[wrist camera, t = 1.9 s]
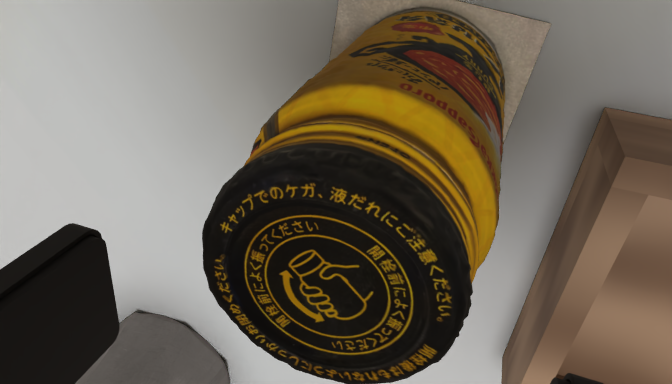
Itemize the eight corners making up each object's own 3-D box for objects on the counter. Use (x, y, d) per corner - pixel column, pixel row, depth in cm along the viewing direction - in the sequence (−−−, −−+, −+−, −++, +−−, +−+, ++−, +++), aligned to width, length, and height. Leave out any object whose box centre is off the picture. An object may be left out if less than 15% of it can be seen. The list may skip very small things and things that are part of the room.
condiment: (551, 22, 16) (599, 204, 7) (471, 223, 21) (428, 506, 11) (344, -28, 18) (124, 62, 8) (311, 172, 22) (147, 387, 12)
